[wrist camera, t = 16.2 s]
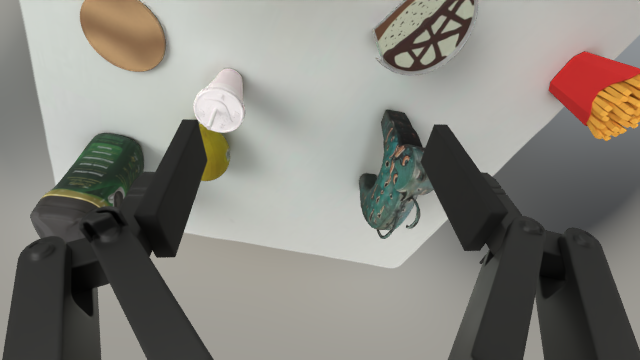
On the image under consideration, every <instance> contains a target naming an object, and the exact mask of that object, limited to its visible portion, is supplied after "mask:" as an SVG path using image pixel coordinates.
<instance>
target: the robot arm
mask: <svg viewBox="0 0 640 360" xmlns="http://www.w3.org/2000/svg"><path fill="white" fill-rule="evenodd" d="M207 161H208V160H207V155H206V151H205V147H204V143H203V139H202V135H201V131H200V127H199V123H198V120H182V122H181V124H180V126H179V128H178V130H177V132H176V134H175V136H174V138H173V139H172V141H171V143H170V145H169V147H168V149H167V151H166V153H165V155H164V157H163V159H162V161H161V163H160V165H159V167H158V169H157V171H156V172H143V173H142V174H141V175H140V176H138V177H137V178H136V179H135V180H134V182H133V183H132V185H131V187H130V190H128V192H127V194H126V197H124V199H123V201H122V202H121V204H120V206H119V208H117V207H113V206H103V207H100V208H97V209H94V210H92V211H90V212H89V213H87V214H86V215H85V216H84V217H83V218H82V219H81V221H80V223H79V230H80V231H81V232H82V233H83V235H84V236H85V237H86V238H82V239H78V240H74V241H70V242H65V241H64V240H63V239H62V238H60V237H58V236H49V237H44V238H41V239H39V240H37V241H34V242H33V243H31V244H30V245H28V246H27V247H26V248H25V249H24V250H23V251H22V252H21V254H20V256H19V258H18V263H17V270H16V276H15V282H14V289H13V295H12V301H11V308H10V314H9V321H8V327H7V334H6V340H5V346H4V352H3V359H2V360H101V348H100V328H99V309H98V289H97V287H99V286H103V285H106V284H109V283H110V285H111V287H112V288H113V291H114V293H115V295H116V297H117V299H118V300H119V303H120V305H121V307H122V309H123V311H124V313H125V315H126V317H127V319H128V321H129V323H130V325H131V327H132V329H133V331H134V333H135V335H136V337H137V339H138V341H139V343H140V346H141V348H142V350H143V352H144V354H145V356H146V357H147V360H213V358H212V356H211V355H210V353H209V352H208V350H207V348H206V347H205V346H204V344H203V342H202V341H201V339H200V337H199V336H198V334H197V333H196V331H195V329H194V328H193V326H192V325H191V323H190V321H189V320H188V318H187V317H186V315H185V313H184V312H183V310H182V309H181V307H180V305H179V304H178V302H177V301H176V299H175V297H174V296H173V294H172V293H171V291H170V290H169V288H168V286H167V285H166V283H165V281H164V280H163V278H162V277H161V275H160V274H159V272H158V270H157V269H156V267H155V266H154V264H153V262H152V261H151V259H150V258H149V257H150V255H151V252H152V250H153V252H154V254H155V256H156V257H157V258H158V257H175V256H176V253H177V250H178V247H179V244H180V241H181V238H182V235H183V232H184V229H185V226H186V223H187V220H188V217H189V214H190V212H191V209H192V206H193V203H194V200H195V197H196V194H197V191H198V188H199V185H200V182H201V179H202V176H203V173H204V170H205V167H206V164H207ZM420 162H421V164H422V166H423V168H424V170H425V172H426V174H427V176H428V178H429V180H430V182H431V184H432V186H433V189H434V191H435V193H436V195H437V197H438V199H439V201H440V203H441V205H442V207H443V209H444V211H445V213H446V215H447V217H448V219H449V220H450V223H451V225H452V227H453V229H454V231H455V233H456V235H457V236H458V239H459V241H460V242H461V245H462V247H463V249H464V251H480V250H481V248H482V247H483V246H484V244H485V243H486V244H487V245H488V247H489V249H490V250H489V251H488V252H487V254H486V255H485V256H484V258H483V259H482V260H481V261H480V264H482V263H483V265H482V267H481V270H480V273H479V276H478V278H477V281H476V284H475V286H474V289H473V292H472V295H471V297H470V300H469V303H468V306H467V308H466V311H465V314H464V317H463V319H462V322H461V325H460V328H459V331H458V333H457V336H456V339H455V341H454V344H453V347H452V350H451V353H450V355H449V358H448V360H523V356H524V351H525V346H526V341H527V336H528V330H529V325H530V320H531V314H532V309H533V304H534V298H535V297H536V303H537V311H538V318H539V325H540V332H541V339H542V346H543V354H544V360H640V350H639V347H638V345H637V342H636V339H635V336H634V334H633V331H632V328H631V325H630V323H629V320H628V317H627V315H626V312H625V309H624V306H623V304H622V301H621V298H620V295H619V293H618V290H617V287H616V284H615V282H614V279H613V276H612V274H611V271H610V268H609V265H608V263H607V260H606V257H605V255H604V252H603V249H602V246H601V244H600V243H599V241H598V240H597V239H595V237H594V236H592V235H591V234H589V233H588V232H586V231H584V230H581V229H578V228H569V229H567V230H566V231H565V232H564V233H563V234H559V233H555V232H551V231H547V230H545V229H544V228H543V226H542V225H541V224H540V223H538V222H537V221H535V220H534V219H532V218H529V217H526V216H522V214H521V213H520V212H519V210H518V209H517V208H516V206H515V205H514V204H513V203H512V201H511V200H510V198H509V197H508V196H507V195H506V193H505V192H504V190H503V189H501V186H500V185H499V183H498V182H497V181H496V179H494V178H493V177H492V176H490V175H489V174H488V173H481V172H480V171H479V169H478V168H477V167H476V165H475V164H474V162H473V161H472V159H471V158H470V157H469V155H468V154H467V152H466V151H465V150H464V148H463V147H462V145H461V144H460V142H459V141H458V140H457V138H456V137H455V135H454V134H453V132H452V131H451V130H450V128H449V127H448V125H434V127H433V129H432V132H431V135H430V137H429V140H428V143H427V145H426V148H425V151H424V153H423V156H422V159H421V161H420Z"/></svg>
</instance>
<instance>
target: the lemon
mask: <svg viewBox="0 0 640 360" xmlns="http://www.w3.org/2000/svg"><path fill="white" fill-rule="evenodd" d="M199 127H200V131H201V135H202V139H203V143H204V147H205V151H206V155H207V160H208V161H207V164H206V167H205V170H204V173H203V176H202V179H201V180H202V181H211V180H214V179H217V178H218V177H220V176H221V175H222V174H223V173H224V172H225V171H226V169H227V167H228V165H229V161H230V150H229V145H228V143H227V141H226V139H225V138H224V137H223V135H222V134H221V133H220V132H215V131H212V130H208V129H207V128H206V127H205V126H203V125H202V124H199Z"/></svg>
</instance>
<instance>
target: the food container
mask: <svg viewBox="0 0 640 360" xmlns="http://www.w3.org/2000/svg"><path fill="white" fill-rule="evenodd" d="M477 11H478V0H404V1H403V2H402V3H401V4H400V5H399V6H398V7H397V8H396V9H395V10H393V11H392V12H391V13H390V14H389V15H388V16H387V17H386V18H385V19H384V20H383V21H382V22H381V23H380V24H378V25H377V26H376V27H375V28H374V29H373V34H374V37H375V40H376V43H377V46H378V50H379V53H380V56H381V60H380V59H378V58H376V60H377V61H378V62H379V63H380V64H382V65H383V66H385V67H386V68H388V69H389V70H391V71H393V72H395V73H398V74H402V75H421V74H426V73H429V72H431V71H434V70H436V69H438V68H440V67H442V66H443V65H445V64H446V63H447V62H449V61H450V60H451V59H452V58H453V57H455V55H456V54H457V53H458V52H459V51H460V50H461V49H462V47H463V46H464V45H465V43H466V42H467V40H468V38H469V36H470V35H471V32H472V30H473V28H474V25H475V21H476V18H477Z"/></svg>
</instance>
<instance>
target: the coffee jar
mask: <svg viewBox="0 0 640 360" xmlns="http://www.w3.org/2000/svg"><path fill="white" fill-rule="evenodd" d="M143 168H144V162H143V154H142V150H141V148H140V146H139V145H138V144H137V143H136V142H135V141H133V140H131V139H129V138H127V137H124V136H121V135H116V134H108V133H103V134H98V135H96V136H95V137H94V138H93V139H92V140H91V142H90V143H89V144H88V145H87V147H86V148H85V149H84V151H83V152H82V154H81V155H80V156H79V158H78V159H77V160H76V162H75V163H74V164H73V165H72V167H71V168H70V169H69V171H68V172H67V173H66V174H65V176H64V177H63V178H62V179H61V181H60V182H59V183H58V184H57V185H56V186H55V187H54V188H53V189H52V190H51V191H49V192H48V193H46V194H45V195H44V196H43V197H42V198H41V199H40V201H39V202H38V204H37V205H36V207H35V208H34V210H33V211H32V213H31V215H30V218H31V220H32V223H33V225H34V227H35V230H36V231H37V233H38V235H39V236H40V238H44V237H49V236H58V237H60V238H62V239H63V240H64V241H65V242H70V241H74V240H78V239H82V238H86V237H85V236H84V235H83V233H82V232H81V231H80V230H79V223H80V221H81V219H82V218H83V217H84V216H85V215H86V214H87V213H89V212H90V211H92V210H94V209H97V208H100V207H103V206H113V207H117V208H119V206H120V204H121V202H122V201H123V199H124V197H126V194H127V192H128V190H130V187H131V185H132V183H133V182H134V180H135V179H136V178H137V177H138V176H140V175H141V174H142V173H143Z"/></svg>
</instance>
